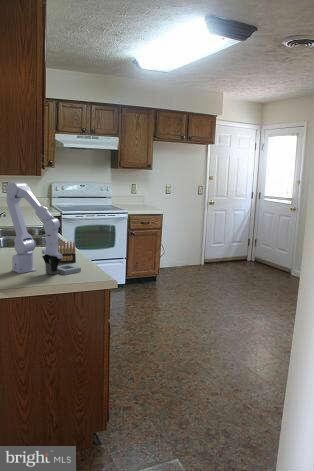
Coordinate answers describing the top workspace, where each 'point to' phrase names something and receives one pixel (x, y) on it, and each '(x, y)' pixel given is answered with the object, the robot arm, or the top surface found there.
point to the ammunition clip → (67, 253)
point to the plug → (50, 268)
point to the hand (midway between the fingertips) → (51, 270)
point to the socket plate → (68, 269)
